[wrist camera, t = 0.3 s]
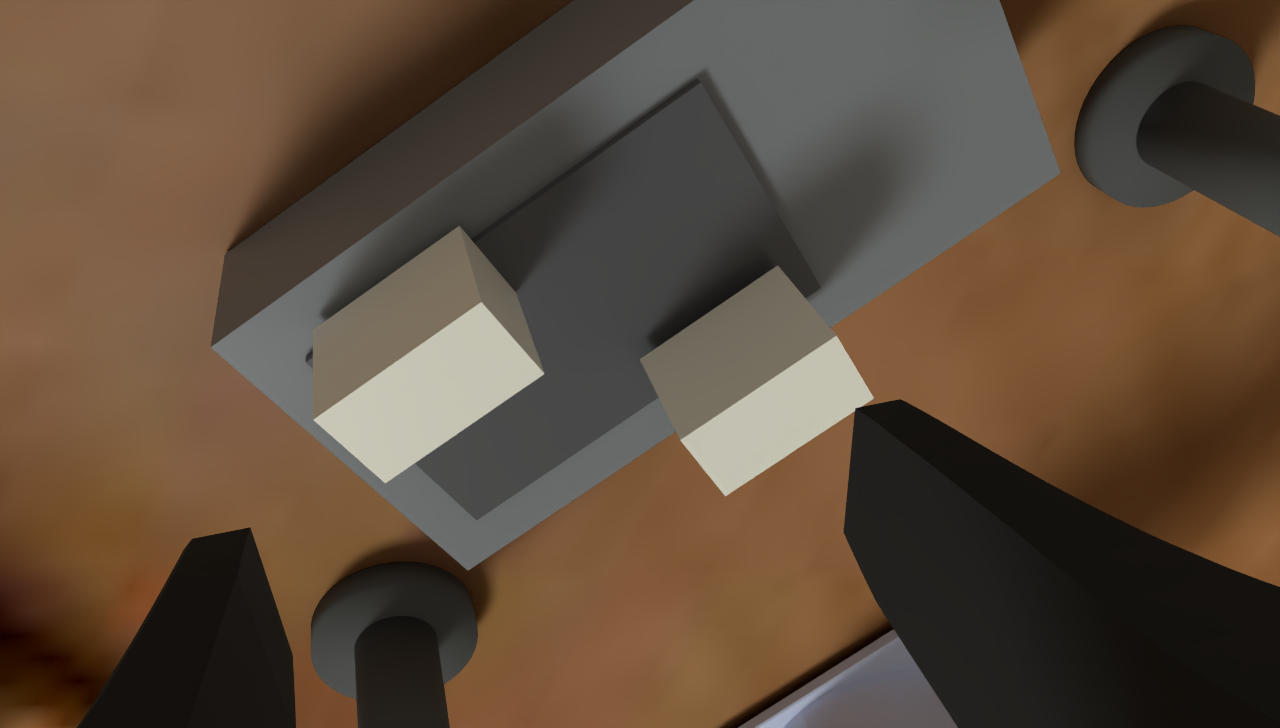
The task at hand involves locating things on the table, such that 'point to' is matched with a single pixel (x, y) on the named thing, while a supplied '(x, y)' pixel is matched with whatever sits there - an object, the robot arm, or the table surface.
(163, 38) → the table surface
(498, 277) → the block
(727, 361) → the block
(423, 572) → the cord stand
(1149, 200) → the post
